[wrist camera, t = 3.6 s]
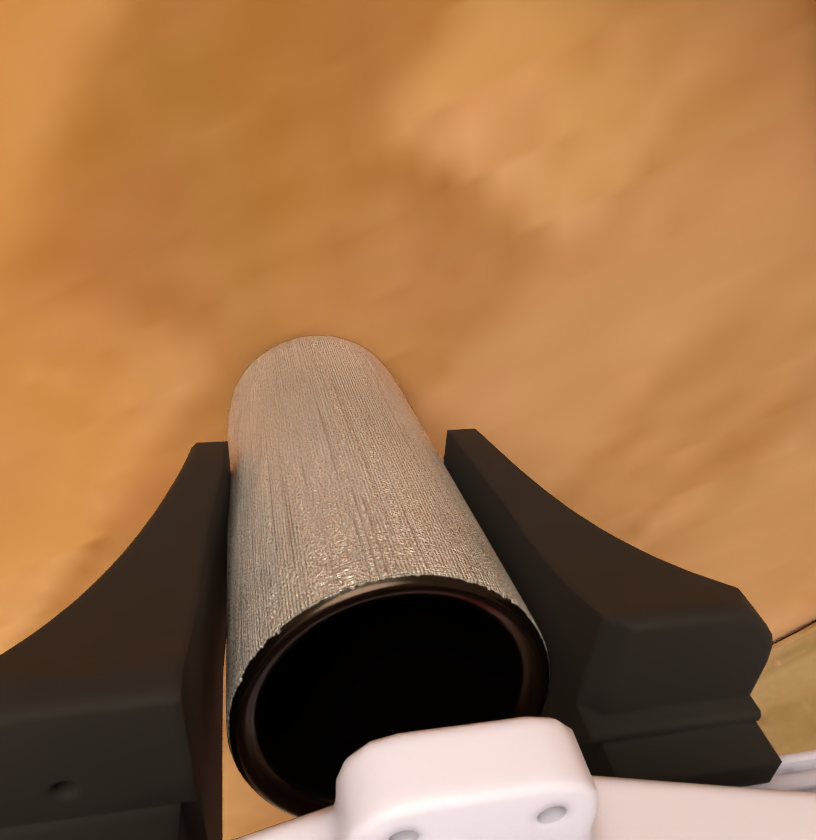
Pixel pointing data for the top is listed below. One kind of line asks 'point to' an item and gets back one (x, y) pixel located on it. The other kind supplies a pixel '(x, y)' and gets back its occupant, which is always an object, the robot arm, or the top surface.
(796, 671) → the caddy
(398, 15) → the top surface
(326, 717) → the planter
